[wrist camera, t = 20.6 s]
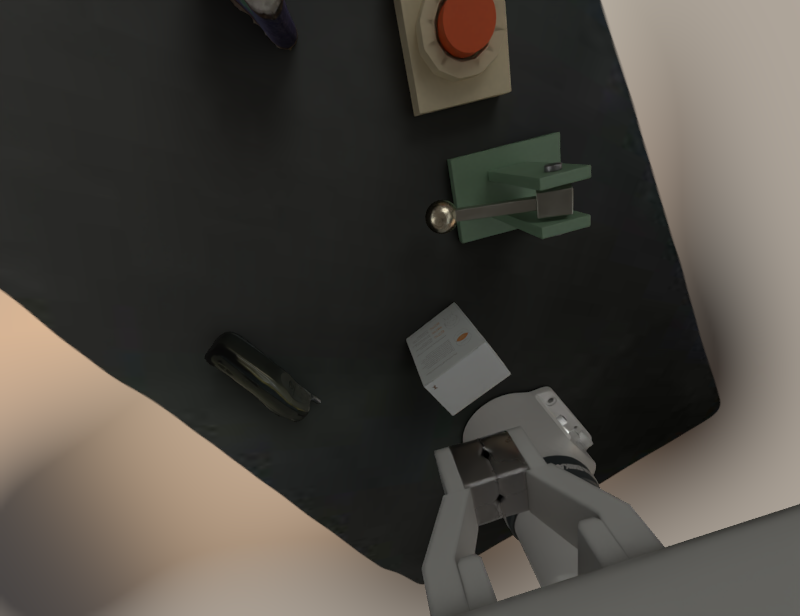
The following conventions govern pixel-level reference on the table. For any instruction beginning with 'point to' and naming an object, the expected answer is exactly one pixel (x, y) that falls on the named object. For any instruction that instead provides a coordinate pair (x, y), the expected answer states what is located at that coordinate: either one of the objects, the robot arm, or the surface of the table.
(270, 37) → the flask
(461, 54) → the button
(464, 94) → the button housing
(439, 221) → the lever
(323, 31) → the table surface
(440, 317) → the small box
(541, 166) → the switch bracket
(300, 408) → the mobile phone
